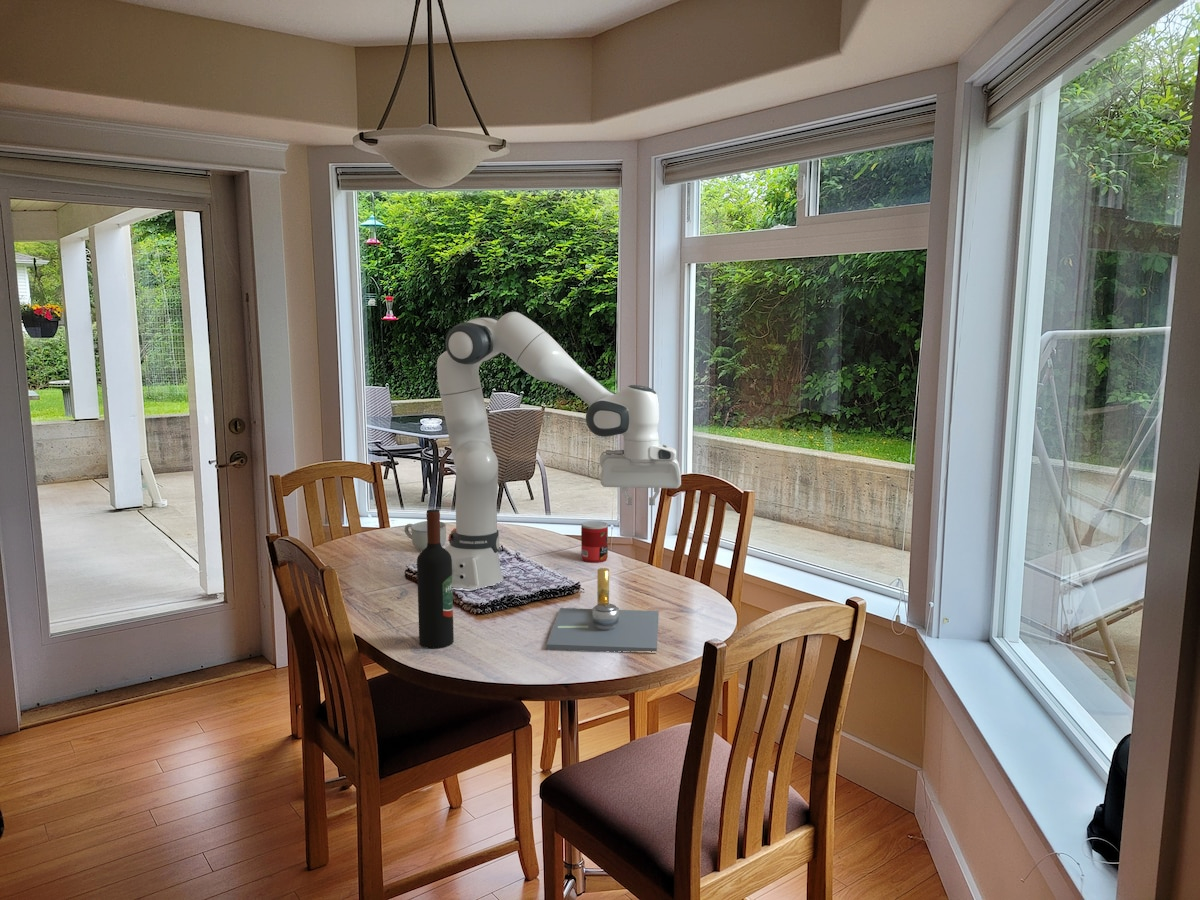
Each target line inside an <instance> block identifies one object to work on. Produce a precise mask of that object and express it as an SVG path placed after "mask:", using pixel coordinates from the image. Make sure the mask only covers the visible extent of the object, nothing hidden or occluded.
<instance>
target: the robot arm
mask: <svg viewBox="0 0 1200 900" xmlns="http://www.w3.org/2000/svg"><path fill="white" fill-rule="evenodd" d="M445 349H446V350H445V351H444V352H443V353H441V354H440V355H439V356H438V357H437V361H436V374H437V375H436V376H437V386H438V390H439V397H440V400H441V406H442V409H443V415H444V420H445V424H446V425H445V426H446V428H447V430H446V431H447V434H448V441H449V444H450V449H451V455H452V460H453V464H454V467H455V481H456V482H455V528H453V529H452V530H451V531H450V533H449V534H448V535H449V536H448V537H447V538H448V542H449V545H447V546H445V548H444V549H445V550H447V551H448V552H449V554H450V555H451V558H452V587H454V588H463V589H476V588H478V587H485V586H490V585H493V584H496V583H498V582H501V581H502V580H503V578H504V575H503V572H502V568H501V564H500V556H499V550H500V534H499V529H498V517H497V516H498V515H497V514H498V512H497V511H498V510H497V509H498V507H497V505H498V504H497V503H498V489H499V488H498V486H499V485H498V484H499V483H498V482H499V459H498V457H497V454H496V452H495V451H494V449H493V445H492V440H491V434H490V427H489V421H488V420H489V419H488V413H487V409H486V404H485V403H486V402H485V398H484V394H483V388H482V384H481V379H480V375H479V370H480V366H481V365H482V363H486V362H489V361H491V360H493V359H494V358H497V357H498V356H500V355H502V354H504V355H506V356H507V357H509V358H510V359H511V360H512V361H513V362H514V363H515V364H516V365H517V366H518V367H520V369H522V370H523V371H524V372H525V373H527V374H529V375H530V376H531V377H533V378H535V379H536V380H538V381H542V382H547V383H548V382H549V383H553V384H557V385H561V386H563V387H564V388H567V389H568V390H569V391H571V392H572V393H573V394H575V395H576V396H577V397H578V398H579V399H581V400H582V401H583V402H585V404H587V405H588V406H589V407H588V408H587V411H586V414H585V422H586V426H587V428H588V429H589V431H590V432H591V433H592V434H594V435H595V436H598V437H604V438H608V437H609V438H610V437H613V436H618V435H622V436H623V449H620V450H619V449H617V450H615V449H612V450H611V449H606V450H605V451H603V452H602V453H601V454H599V465H600V466H601V473H600V484H601V486H602V487H603V488H621V493H622V494H623V496H624V498H625V505H626V506H627V505H628V506H632V505H633V496H629V494H628V493H627V492H628V490H629V489H628V488H632V489H633V488H636V489H638V488H645V489H653V493H654V494H653V496H652V497H649V498H648V505H649V506H656V499H657V497H658V495H660V489H679V488H680V487H681V486H682V475H681V474H682V472H681V468H680V462H679V461H678V459H677V453H678V452H677V450H676V448H674V447H671V446H669V445H665V444H662V443H660V437H659V433H658V428H659V424H660V405H659V395H658V393H657V392H656V390H655V389H653V388H652V387H648V386H645V385H640V384H639V385H636V384H631V385H630V384H629V385H627V386H626V387H625V388H623V389H622V390H621V391H617V392H614V391H612V390H611V389H609V388H607V387H605V386H604V385H603V384H601V383H600V382H599V381H598V380H597V379H596V378H594V377H593V376H592V375H591V374H589V373H588V372H587V371H586V370H585V369H584V368H582V367H581V366H580V365H579V364H578V363H577V362H576V361H575V360H574V359H573V358H572V357H571V356H570V355H569V354H568V352H566V351H565V349H563V347H562V346H561V345H560V344H559V343H558V342H557V341H556V340H555V339H554V338H553V337H552V336H551V335H550V334H549V333H548V332H547V331H546V330H545V329H543V328H542V327H541V326H539V325H538V324H537V323H536V322H534V321H533V320H531V319H530V318H528V317H527V316H525V315H524V314H522V313H520V312H518V311H509V312H507V313H504V314H503V315H502V316H501V317H500V318H497V317H493V316H484V317H478V318H477V317H476V318H472V319H470V320H468V321H464V322H459V323H458V324H456V325H455V326H453V327H452V328H451V329H450V330H449V331H448V333H447V335H446V338H445Z"/></svg>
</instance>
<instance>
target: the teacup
mask: <svg viewBox="0 0 1200 900" xmlns="http://www.w3.org/2000/svg"><path fill="white" fill-rule="evenodd" d="M446 527H447V524H446V523H445V522H442V521H440V543H441V546H442V547H443V546H445V544H446V541H447V540H446V539H447V530H446V529H447V528H446ZM409 528H410V529H411V531H410V530H409ZM404 534H405V535H406V536H407V537H408V538H409V539H410V540H411V542H412V545H413V547H415V549H417V550H418V551H420V552H422V551H423V550H424V549H425V548H426V547H427V543H428V539H427V520H426V521H425V520H424V521H420V522H415V523H407V524H406V525H405V527H404Z"/></svg>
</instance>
